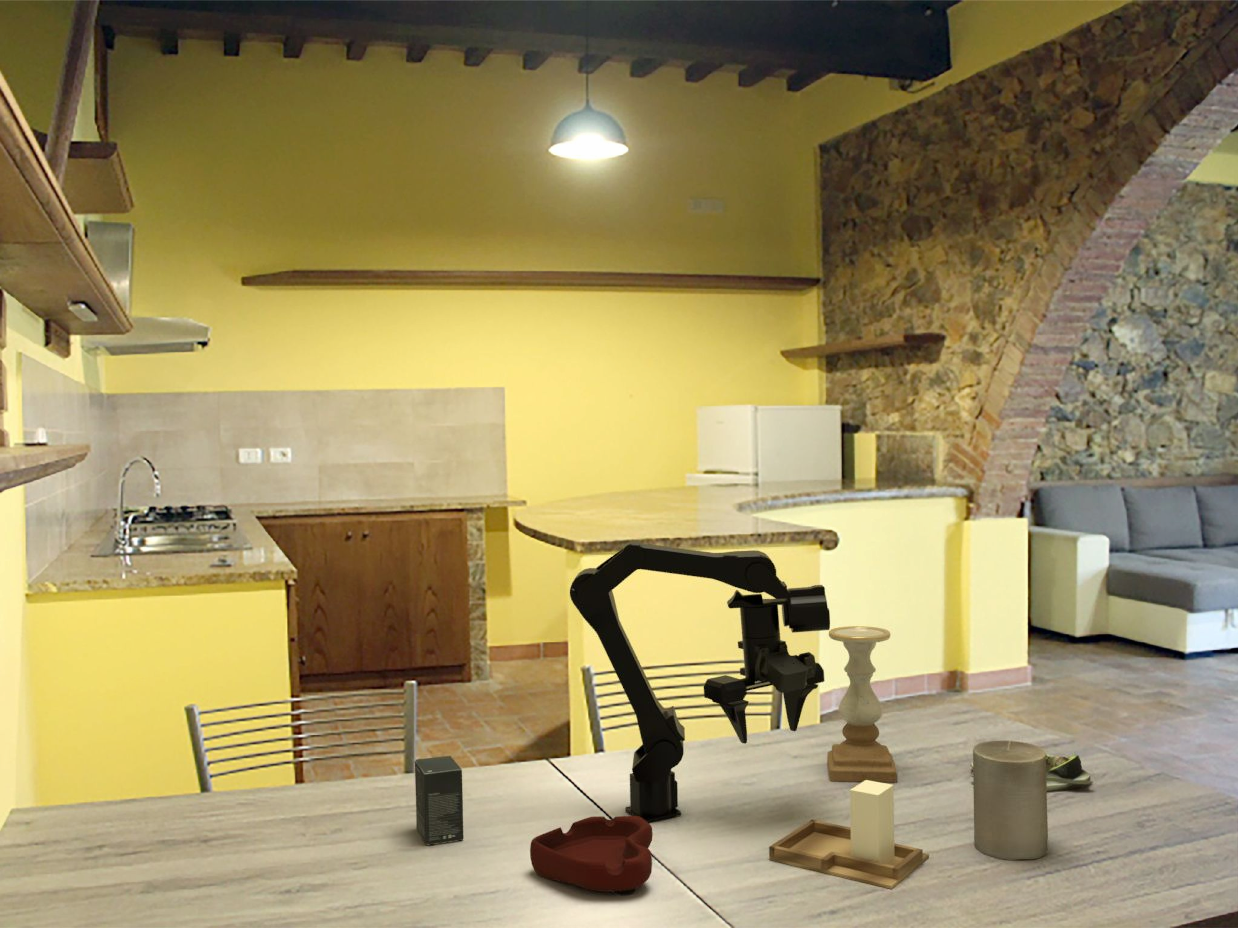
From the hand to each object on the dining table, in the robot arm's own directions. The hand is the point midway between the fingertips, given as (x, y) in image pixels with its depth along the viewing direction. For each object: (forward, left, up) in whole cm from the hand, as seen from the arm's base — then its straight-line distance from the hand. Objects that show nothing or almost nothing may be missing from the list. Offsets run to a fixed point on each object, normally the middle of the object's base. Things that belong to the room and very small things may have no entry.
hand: (768, 736), depth 174 cm
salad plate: (+47, -9, -12) cm, 49 cm away
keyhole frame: (-1, -20, -12) cm, 23 cm away
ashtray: (-34, -6, -12) cm, 36 cm away
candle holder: (+25, +8, -12) cm, 29 cm away
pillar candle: (+20, -29, -12) cm, 37 cm away
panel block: (0, -23, -11) cm, 26 cm away
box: (-46, +18, -12) cm, 51 cm away
